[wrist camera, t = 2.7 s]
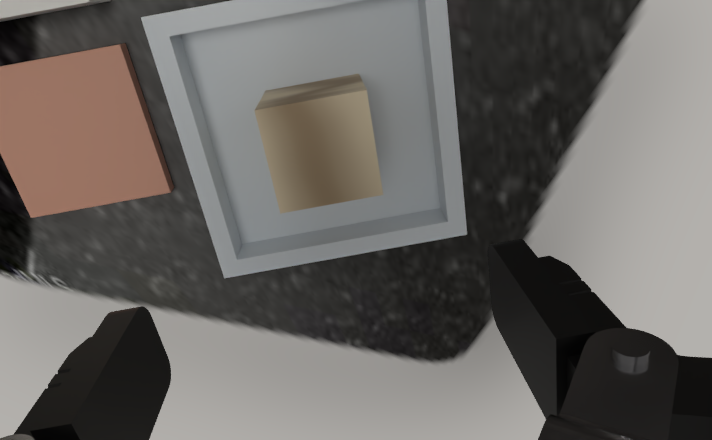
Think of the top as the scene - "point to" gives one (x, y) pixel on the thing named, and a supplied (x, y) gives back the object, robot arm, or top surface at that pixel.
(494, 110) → the top surface
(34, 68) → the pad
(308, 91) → the plain cube
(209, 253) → the top surface
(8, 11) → the white tray
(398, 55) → the blue tray
